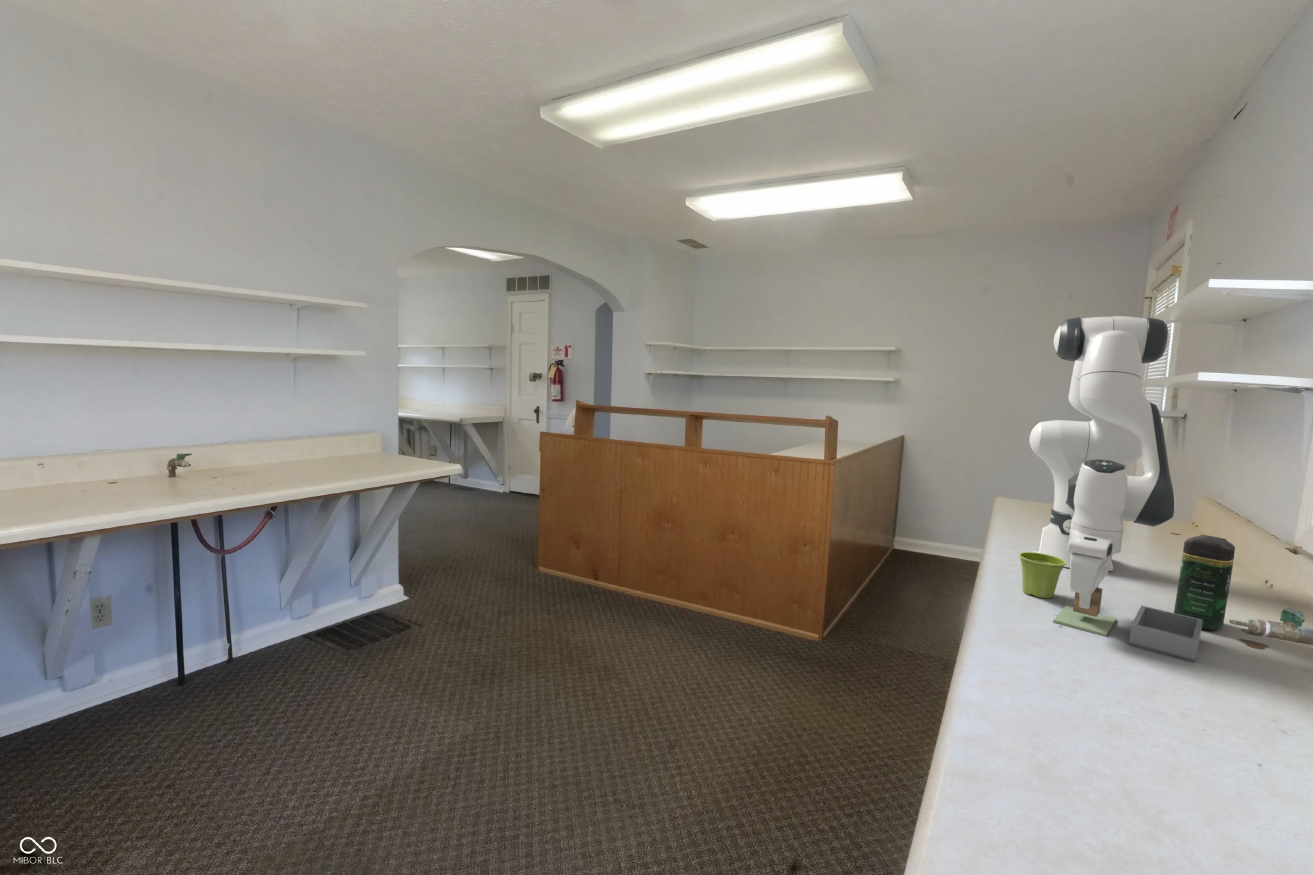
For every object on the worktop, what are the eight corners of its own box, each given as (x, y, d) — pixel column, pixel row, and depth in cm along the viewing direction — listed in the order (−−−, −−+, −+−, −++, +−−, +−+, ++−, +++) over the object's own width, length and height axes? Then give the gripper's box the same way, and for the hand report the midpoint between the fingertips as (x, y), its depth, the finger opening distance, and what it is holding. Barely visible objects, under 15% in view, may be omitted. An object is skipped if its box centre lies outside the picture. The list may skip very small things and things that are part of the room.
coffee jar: (1219, 635, 124) (1232, 545, 122) (1169, 622, 130) (1181, 536, 128) (1227, 623, 131) (1239, 538, 129) (1178, 611, 137) (1190, 529, 135)
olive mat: (1066, 607, 137) (1066, 605, 137) (1116, 619, 130) (1116, 617, 130) (1053, 622, 128) (1053, 619, 128) (1106, 636, 122) (1106, 633, 122)
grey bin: (1139, 623, 129) (1141, 605, 128) (1199, 638, 122) (1202, 619, 122) (1128, 644, 118) (1131, 624, 118) (1194, 662, 112) (1197, 641, 111)
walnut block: (1077, 606, 132) (1079, 583, 131) (1099, 611, 129) (1102, 588, 129) (1073, 611, 129) (1075, 587, 128) (1096, 616, 126) (1099, 593, 126)
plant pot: (1048, 588, 149) (1052, 553, 148) (1070, 602, 140) (1075, 565, 139) (1007, 585, 150) (1011, 550, 149) (1027, 599, 141) (1031, 562, 140)
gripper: (1086, 527, 137) (1079, 588, 138) (1066, 544, 122) (1058, 612, 124) (1121, 534, 133) (1113, 596, 134) (1105, 552, 118) (1096, 621, 119)
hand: (1087, 604), depth 129 cm, fingers closed on walnut block, 4 cm apart
